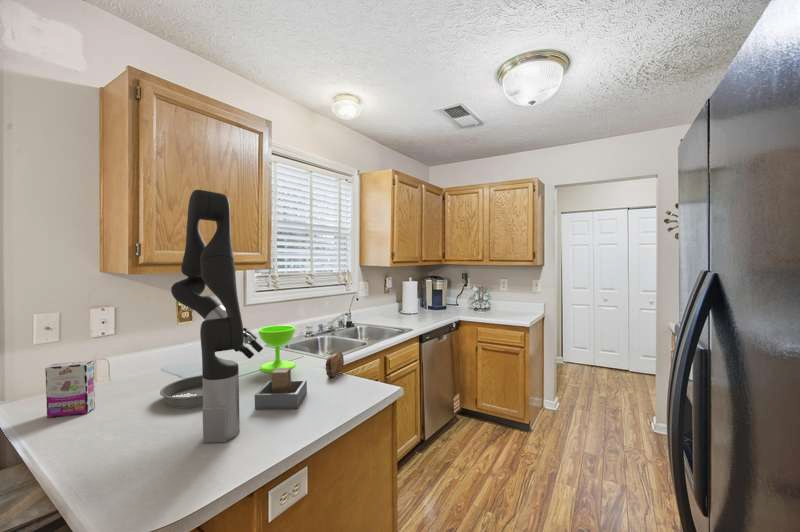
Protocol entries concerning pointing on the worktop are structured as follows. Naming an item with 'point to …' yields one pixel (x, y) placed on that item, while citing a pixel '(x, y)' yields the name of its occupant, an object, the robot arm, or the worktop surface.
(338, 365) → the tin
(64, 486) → the worktop surface
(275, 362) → the wineglass
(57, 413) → the candy bar box
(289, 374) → the brown wooden block
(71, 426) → the worktop surface
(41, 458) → the worktop surface
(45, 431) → the worktop surface
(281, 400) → the box
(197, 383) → the cake pan
